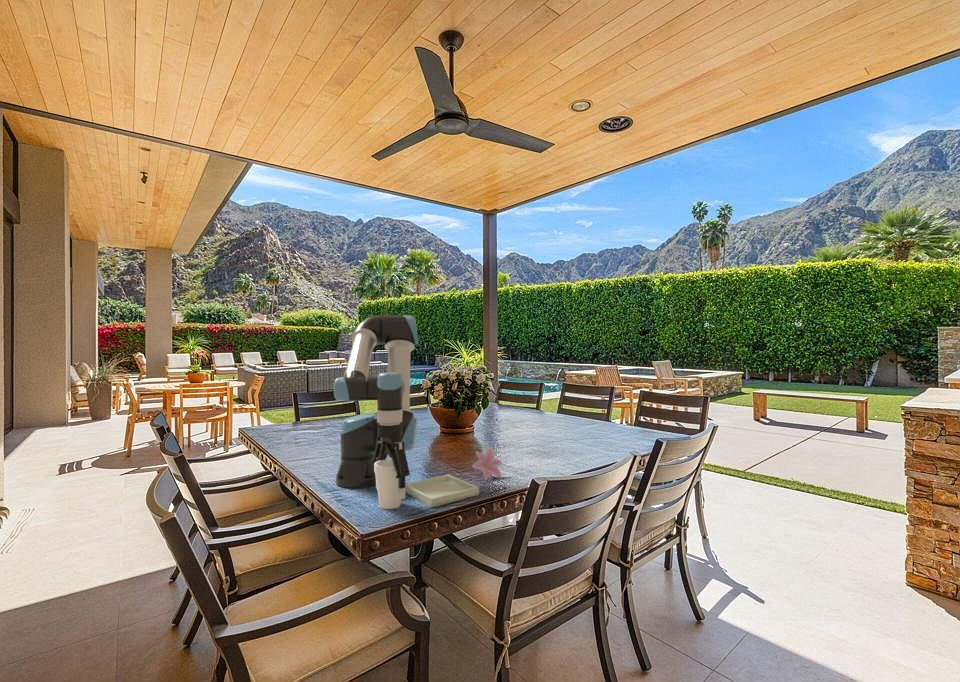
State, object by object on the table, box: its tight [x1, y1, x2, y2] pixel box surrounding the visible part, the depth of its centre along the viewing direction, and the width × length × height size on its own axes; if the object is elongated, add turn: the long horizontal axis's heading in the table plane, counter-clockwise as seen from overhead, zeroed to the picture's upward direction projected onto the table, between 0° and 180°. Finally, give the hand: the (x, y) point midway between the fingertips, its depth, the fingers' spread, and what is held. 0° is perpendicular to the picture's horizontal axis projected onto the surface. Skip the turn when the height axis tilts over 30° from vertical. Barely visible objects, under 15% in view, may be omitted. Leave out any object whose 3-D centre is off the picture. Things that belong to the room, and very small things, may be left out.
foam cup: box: [374, 458, 402, 510], centre depth 141 cm, size 10×9×13 cm
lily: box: [472, 446, 503, 481], centre depth 170 cm, size 12×12×10 cm
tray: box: [405, 474, 480, 508], centre depth 151 cm, size 18×18×2 cm
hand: (390, 492), depth 140 cm, fingers open, 13 cm apart
